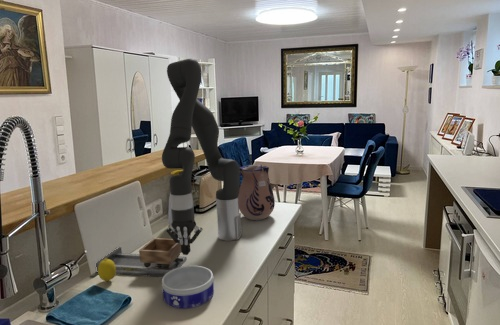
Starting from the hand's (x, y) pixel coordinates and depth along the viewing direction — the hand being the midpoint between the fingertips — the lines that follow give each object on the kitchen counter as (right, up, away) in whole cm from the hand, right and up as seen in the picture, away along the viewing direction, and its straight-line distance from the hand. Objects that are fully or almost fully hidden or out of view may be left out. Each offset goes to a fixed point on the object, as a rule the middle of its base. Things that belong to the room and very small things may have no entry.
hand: (186, 253), depth 129 cm
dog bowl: (+4, -9, -16) cm, 18 cm away
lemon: (-25, -8, -5) cm, 27 cm away
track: (-16, -5, +5) cm, 18 cm away
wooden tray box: (-9, -3, +3) cm, 10 cm away
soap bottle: (-10, +2, +44) cm, 45 cm away
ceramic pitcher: (+24, +5, +51) cm, 57 cm away
